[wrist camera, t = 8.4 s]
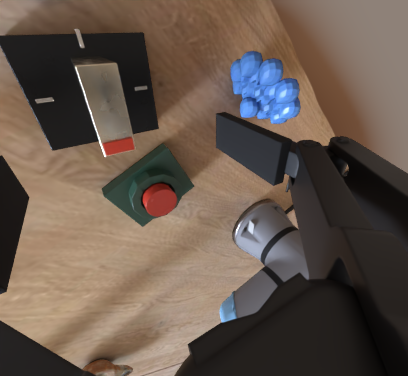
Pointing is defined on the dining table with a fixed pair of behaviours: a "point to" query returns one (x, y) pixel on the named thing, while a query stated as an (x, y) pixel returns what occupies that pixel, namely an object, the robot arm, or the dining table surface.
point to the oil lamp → (107, 368)
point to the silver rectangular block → (105, 103)
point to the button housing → (147, 183)
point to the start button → (159, 199)
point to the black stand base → (68, 83)
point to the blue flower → (264, 88)
